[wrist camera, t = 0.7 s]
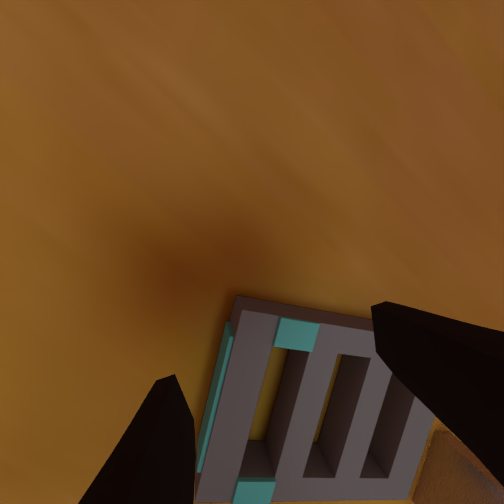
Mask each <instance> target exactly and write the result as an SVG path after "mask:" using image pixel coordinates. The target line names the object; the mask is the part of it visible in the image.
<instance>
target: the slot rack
mask: <svg viewBox="0 0 504 504" xmlns="http://www.w3.org/2000/svg"><path fill="white" fill-rule="evenodd" d="M272 345H273V346H274V347H280V348H287V349H289V353H288V356H287V360H286V364H285V367H284V371H283V375H282V379H281V382H280V386H279V390H278V394H277V397H276V401H275V405H274V408H273V412H272V416H271V420H270V423H269V427H268V431H267V434H266V438H265V441H248V437H249V433H250V429H251V425H252V421H253V417H254V414H255V410H256V406H257V402H258V398H259V395H260V391H261V387H262V383H263V379H264V375H265V372H266V368H267V364H268V360H269V356H270V353H271V349H272ZM338 354H343V357H342V360H341V364H340V367H339V371H338V374H337V377H336V381H335V384H334V388H333V391H332V395H331V398H330V402H329V405H328V408H327V412H326V415H325V419H324V422H323V426H322V429H321V433H320V436H319V439H318V443H312V442H313V439H314V435H315V432H316V428H317V425H318V421H319V418H320V414H321V411H322V407H323V404H324V400H325V397H326V394H327V390H328V387H329V383H330V380H331V376H332V373H333V369H334V366H335V362H336V359H337V355H338ZM434 417H435V415H434V414H433V413H432V412H431V411H430V410H429V409H428V408H427V407H426V406H425V405H424V404H423V403H422V402H421V401H420V400H419V399H418V398H417V397H416V396H415V395H414V394H413V393H412V392H411V391H410V390H409V389H408V388H407V387H406V386H405V385H404V384H403V383H402V382H401V381H400V380H399V379H398V378H397V377H396V376H395V375H394V374H393V373H392V372H391V370H390V369H389V368H388V367H387V366H386V364H385V363H384V362H383V361H382V359H381V358H380V357H379V355H378V354H377V353H376V349H375V340H374V331H373V321H372V320H371V319H365V318H360V317H354V316H348V315H343V314H337V313H332V312H326V311H321V310H315V309H309V308H304V307H298V306H293V305H287V304H282V303H276V302H270V301H265V300H259V299H254V298H248V297H243V296H237V295H236V297H235V301H234V305H233V309H232V313H231V317H230V322H228V321H226V325H225V329H224V333H223V337H222V341H221V346H220V350H219V354H218V358H217V362H216V366H215V370H214V374H213V379H212V383H211V387H210V391H209V395H208V399H207V403H206V408H205V412H204V416H203V420H202V424H201V428H200V432H199V437H198V441H197V457H196V467H195V503H216V502H231V504H270V502H281V501H346V500H407V498H408V495H409V492H410V489H411V486H412V483H413V480H414V477H415V474H416V471H417V468H418V465H419V462H420V459H421V456H422V453H423V450H424V447H425V444H426V441H427V438H428V435H429V432H430V429H431V426H432V423H433V420H434Z"/></svg>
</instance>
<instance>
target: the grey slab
mask: <svg viewBox="0 0 504 504" xmlns="http://www.w3.org/2000/svg"><path fill="white" fill-rule="evenodd" d="M412 501H413V502H414V504H504V487H503V486H502V485H501V484H500V483H499V482H498V480H497V479H496V478H495V477H494V476H493V475H492V474H491V473H490V471H489V470H488V469H487V468H486V467H485V466H484V465H483V464H482V462H481V461H480V460H479V459H478V458H477V457H476V456H475V455H474V454H473V453H472V452H471V451H470V450H469V448H468V447H467V446H466V445H465V444H464V443H463V442H461V441H460V440H459V439H458V438H457V437H456V436H454V435H453V434H452V433H451V432H450V431H443V430H435V432H434V435H433V438H432V441H431V444H430V447H429V450H428V453H427V456H426V459H425V462H424V465H423V468H422V471H421V474H420V477H419V480H418V483H417V486H416V489H415V492H414V495H413V498H412Z"/></svg>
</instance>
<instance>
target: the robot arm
mask: <svg viewBox="0 0 504 504" xmlns="http://www.w3.org/2000/svg"><path fill="white" fill-rule="evenodd" d="M371 312H372V321H373V331H374V340H375V349H376V353H377V354H378V355H379V357H380V358H381V359H382V361H383V362H384V363H385V364H386V366H387V367H388V368H389V369H390V370H391V372H392V373H393V374H394V375H395V376H396V377H397V378H398V379H399V380H400V381H401V382H402V383H403V384H404V385H405V386H406V387H407V388H408V389H409V390H410V391H411V392H412V393H413V394H414V395H415V396H416V397H417V398H418V399H419V400H420V401H421V402H422V403H423V404H424V405H425V406H426V407H427V408H428V409H429V410H430V411H431V412H432V413H433V414H434V415H435V416H436V417H437V418H438V419H439V420H440V421H441V422H442V423H443V424H444V425H445V426H446V427H448V428H449V429H450V430H451V431H452V432H453V433H454V434H455V435H456V436H457V437H458V438H459V439H460V440H461V441H462V442H463V443H464V444H465V445H466V446H467V447H468V448H469V450H470V451H471V452H472V453H473V454H474V455H475V456H476V457H477V458H478V459H479V460H480V461H481V462H482V464H483V465H484V466H485V467H486V468H487V469H488V470H489V471H490V473H491V474H492V475H493V476H494V477H495V478H496V479H497V480H498V482H499V483H500V484H501V485H502V486H503V487H504V332H502V331H498V330H493V329H489V328H485V327H481V326H477V325H473V324H469V323H465V322H462V321H458V320H454V319H451V318H447V317H443V316H440V315H436V314H432V313H429V312H425V311H422V310H418V309H415V308H411V307H407V306H404V305H400V304H396V303H392V302H387V301H385V302H382V303H379V304H377V305H374V306H371ZM195 461H196V450H195V429H194V419H193V416H192V414H191V411H190V409H189V407H188V404H187V402H186V400H185V397H184V395H183V392H182V390H181V388H180V385H179V383H178V381H177V378H176V376H175V374H174V375H171V376H168V377H165V378H162V379H159V380H156V382H155V383H154V385H153V387H152V388H151V390H150V392H149V393H148V395H147V397H146V398H145V400H144V401H143V403H142V405H141V407H140V408H139V410H138V412H137V413H136V415H135V417H134V418H133V420H132V421H131V423H130V425H129V426H128V428H127V430H126V431H125V433H124V434H123V436H122V438H121V439H120V441H119V443H118V444H117V446H116V447H115V449H114V451H113V452H112V454H111V455H110V457H109V458H108V460H107V461H106V463H105V464H104V466H103V467H102V469H101V470H100V472H99V473H98V475H97V476H96V478H95V479H94V481H93V482H92V484H91V485H90V487H89V488H88V490H87V491H86V493H85V494H84V496H83V497H82V499H81V500H80V502H79V503H78V504H193V501H194V482H195Z"/></svg>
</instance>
